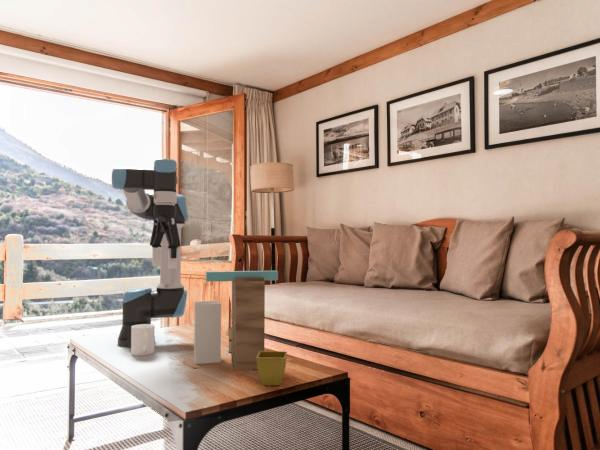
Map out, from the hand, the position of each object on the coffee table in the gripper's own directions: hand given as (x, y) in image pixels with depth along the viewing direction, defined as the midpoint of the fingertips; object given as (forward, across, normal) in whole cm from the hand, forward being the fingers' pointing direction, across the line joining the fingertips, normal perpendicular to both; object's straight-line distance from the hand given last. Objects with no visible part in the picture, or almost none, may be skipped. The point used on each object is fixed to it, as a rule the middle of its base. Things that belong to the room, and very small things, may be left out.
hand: (164, 267), depth 158 cm
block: (+5, +11, +24) cm, 27 cm away
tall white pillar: (+35, -4, +18) cm, 40 cm away
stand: (+35, +12, +26) cm, 45 cm away
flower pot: (+35, +34, +21) cm, 53 cm away
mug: (+36, -27, +3) cm, 45 cm away
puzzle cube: (+36, -7, +37) cm, 52 cm away
